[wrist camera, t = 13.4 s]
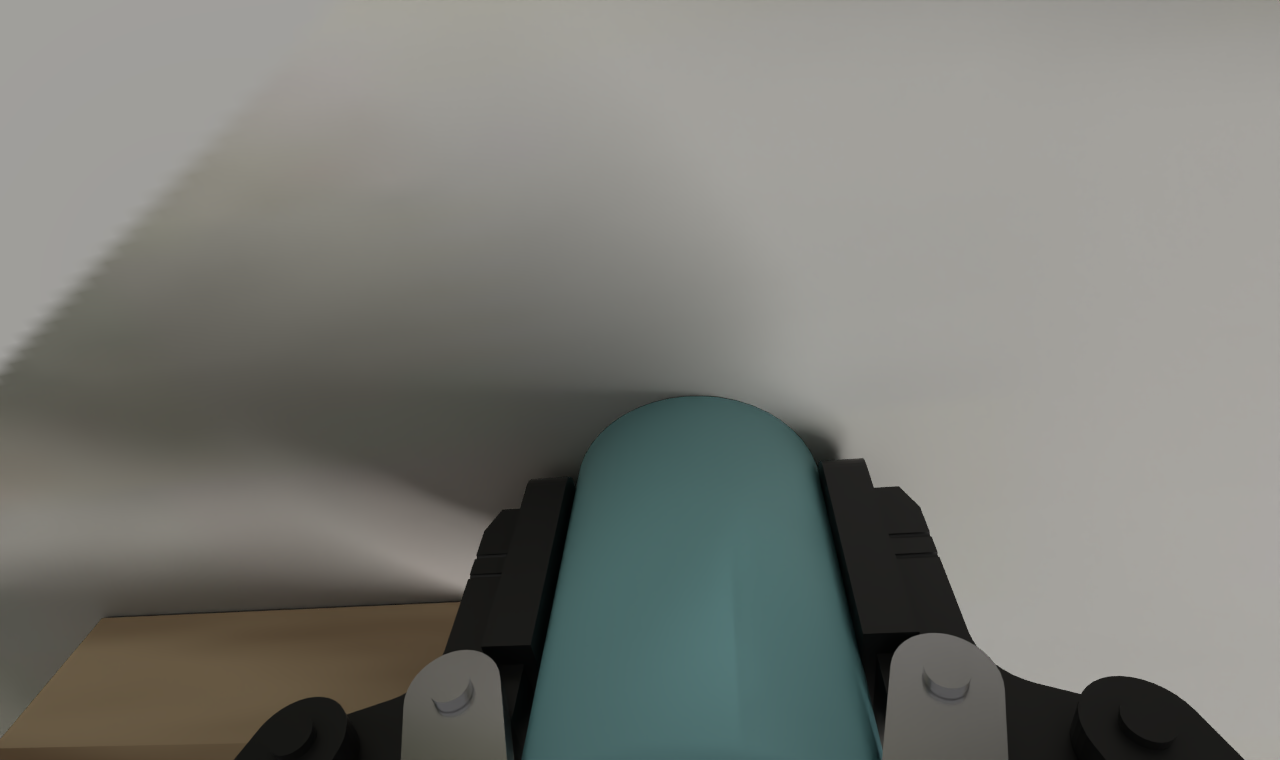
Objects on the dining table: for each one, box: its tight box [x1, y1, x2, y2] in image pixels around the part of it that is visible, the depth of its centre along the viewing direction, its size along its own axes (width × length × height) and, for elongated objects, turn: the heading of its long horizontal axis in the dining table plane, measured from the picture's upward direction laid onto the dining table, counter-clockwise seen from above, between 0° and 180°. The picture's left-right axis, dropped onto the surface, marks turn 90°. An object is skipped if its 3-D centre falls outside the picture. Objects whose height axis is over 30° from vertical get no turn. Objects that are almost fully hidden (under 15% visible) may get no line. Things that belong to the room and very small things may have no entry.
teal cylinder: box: [521, 396, 883, 760], centre depth 11 cm, size 4×4×6 cm
